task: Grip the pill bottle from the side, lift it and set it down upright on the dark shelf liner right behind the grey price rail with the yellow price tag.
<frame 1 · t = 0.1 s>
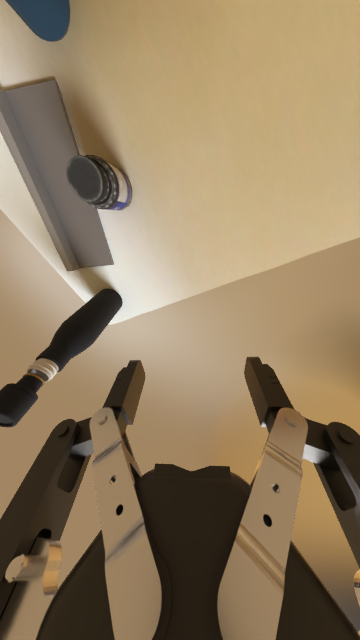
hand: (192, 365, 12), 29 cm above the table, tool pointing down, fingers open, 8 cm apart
soda can: (48, 3, 20), on the table
black water bottle: (110, 299, 43), on the table
pill bottle: (117, 190, 30), on the table
price rail shelf: (72, 196, 31), on the table
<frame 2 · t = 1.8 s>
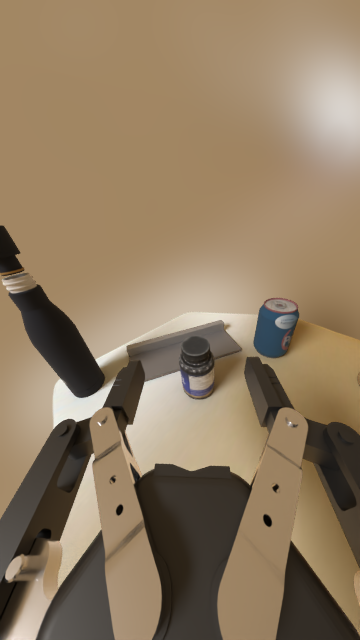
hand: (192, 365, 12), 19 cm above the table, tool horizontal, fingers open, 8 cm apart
soda can: (268, 349, 38), on the table
black water bottle: (89, 384, 35), on the table
pill bottle: (198, 386, 32), on the table
price rail shelf: (184, 355, 39), on the table
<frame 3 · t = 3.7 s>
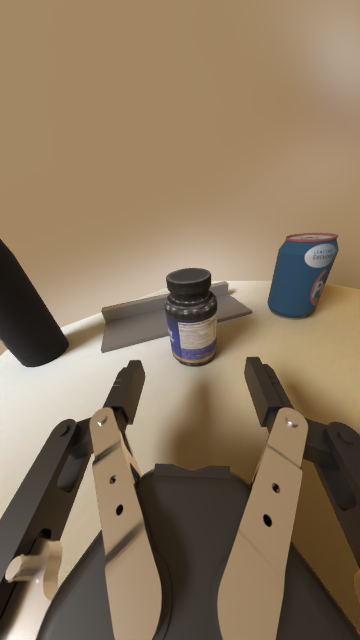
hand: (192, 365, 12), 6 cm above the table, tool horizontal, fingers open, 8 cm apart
soda can: (287, 311, 29), on the table
black water bottle: (47, 352, 26), on the table
pill bottle: (194, 352, 23), on the table
price rail shelf: (177, 319, 30), on the table
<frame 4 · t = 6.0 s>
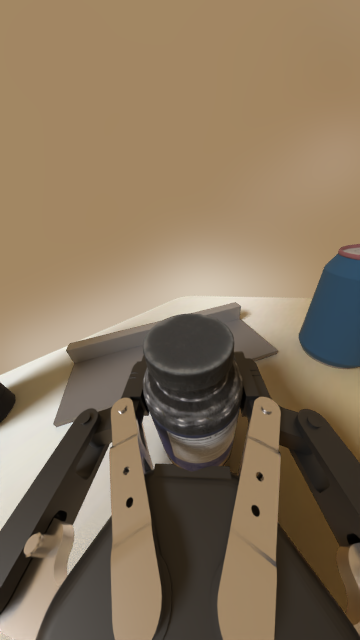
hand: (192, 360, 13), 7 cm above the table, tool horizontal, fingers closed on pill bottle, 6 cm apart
soda can: (328, 352, 20), on the table
pill bottle: (197, 433, 14), on the table, touching gripper
price rail shelf: (172, 360, 22), on the table
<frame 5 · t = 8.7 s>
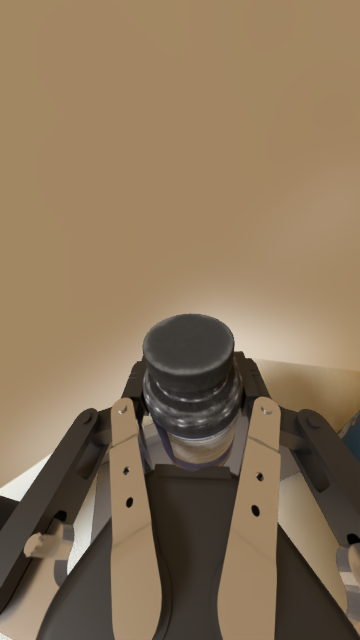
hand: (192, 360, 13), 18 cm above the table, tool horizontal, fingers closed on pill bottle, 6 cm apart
black water bottle: (7, 551, 17), on the table
pill bottle: (197, 433, 14), point 11 cm above the table, touching gripper
price rail shelf: (201, 467, 21), on the table
when the fingers open (8 cm above the table, at t = 11.5 s): pill bottle drops 1 cm, resting on price rail shelf.
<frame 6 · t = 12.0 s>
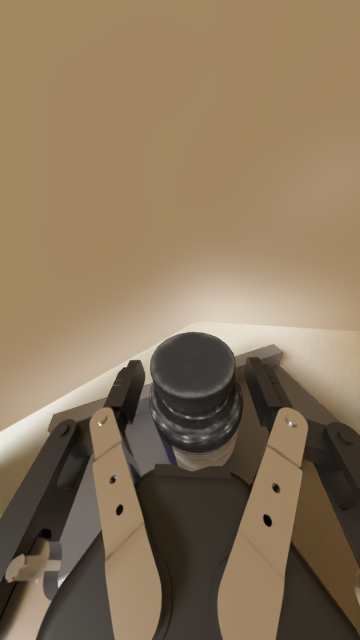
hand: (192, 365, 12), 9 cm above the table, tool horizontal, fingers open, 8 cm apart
pill bottle: (198, 441, 15), resting on price rail shelf
price rail shelf: (197, 441, 15), on the table
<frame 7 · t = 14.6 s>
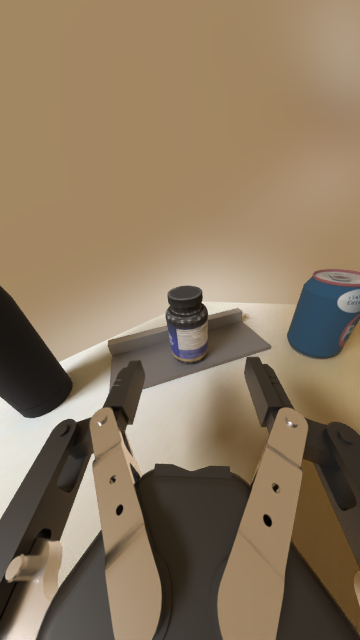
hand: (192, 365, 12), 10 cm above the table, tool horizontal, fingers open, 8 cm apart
soda can: (309, 347, 27), on the table
black water bottle: (49, 396, 24), on the table
pill bottle: (190, 352, 28), resting on price rail shelf
price rail shelf: (189, 354, 28), on the table
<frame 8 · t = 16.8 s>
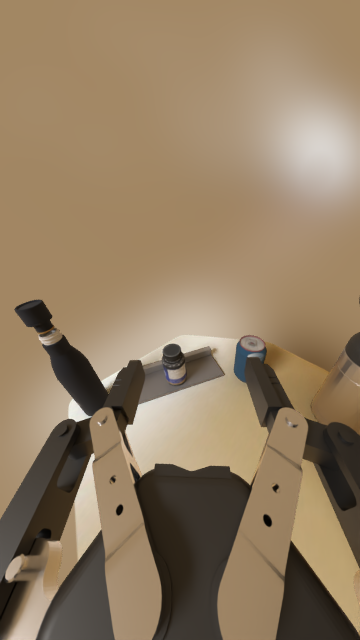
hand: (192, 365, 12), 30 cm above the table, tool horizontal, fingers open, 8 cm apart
soda can: (246, 375, 46), on the table
black water bottle: (98, 404, 43), on the table
pill bottle: (176, 377, 47), resting on price rail shelf
price rail shelf: (176, 378, 47), on the table
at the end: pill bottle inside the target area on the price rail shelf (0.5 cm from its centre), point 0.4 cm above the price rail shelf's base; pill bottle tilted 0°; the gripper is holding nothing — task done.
